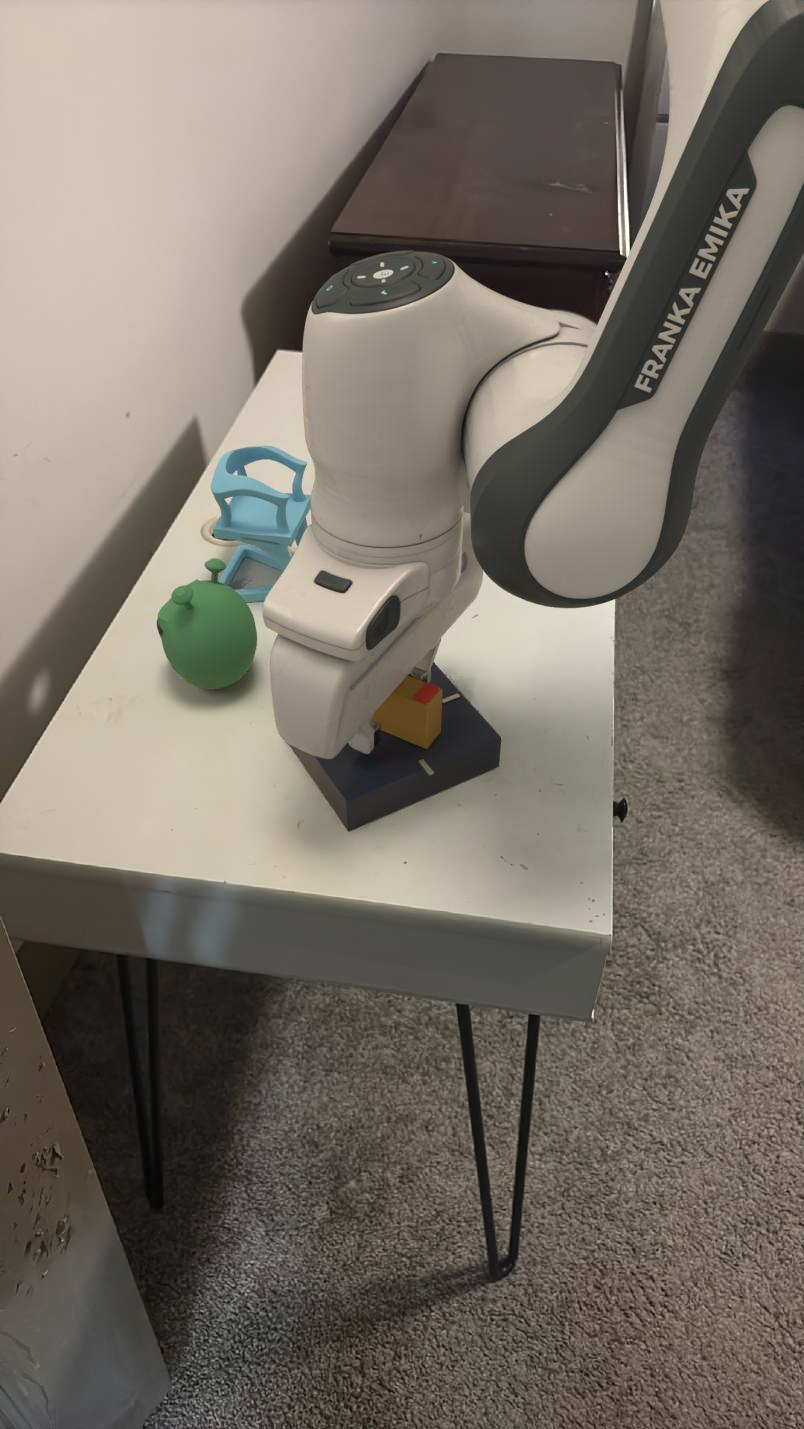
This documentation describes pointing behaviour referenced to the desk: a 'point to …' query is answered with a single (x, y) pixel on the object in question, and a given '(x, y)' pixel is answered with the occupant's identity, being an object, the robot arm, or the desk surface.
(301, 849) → the desk surface
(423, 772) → the navy square base
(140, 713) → the desk surface
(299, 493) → the chair
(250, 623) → the alien toy
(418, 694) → the tan battery-shaped brick
